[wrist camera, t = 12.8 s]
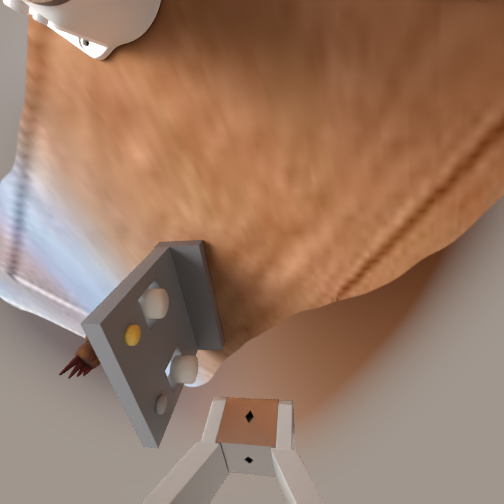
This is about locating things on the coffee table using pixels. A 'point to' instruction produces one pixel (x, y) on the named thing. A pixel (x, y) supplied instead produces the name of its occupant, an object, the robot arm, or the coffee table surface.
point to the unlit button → (184, 369)
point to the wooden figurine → (83, 360)
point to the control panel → (155, 333)
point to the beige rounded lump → (154, 303)
